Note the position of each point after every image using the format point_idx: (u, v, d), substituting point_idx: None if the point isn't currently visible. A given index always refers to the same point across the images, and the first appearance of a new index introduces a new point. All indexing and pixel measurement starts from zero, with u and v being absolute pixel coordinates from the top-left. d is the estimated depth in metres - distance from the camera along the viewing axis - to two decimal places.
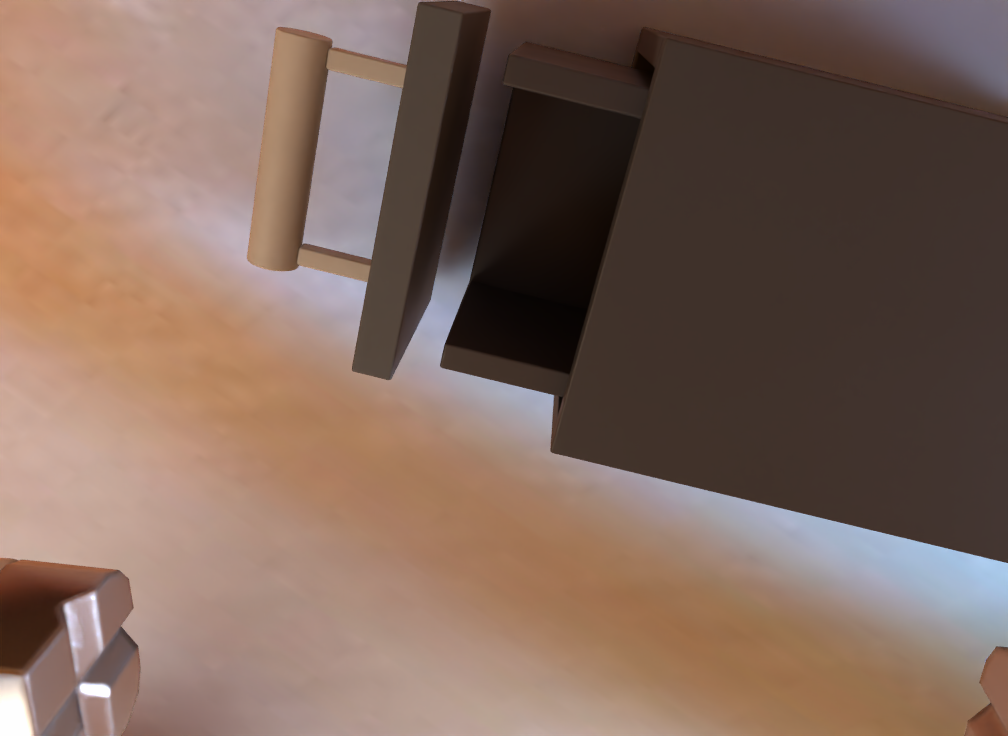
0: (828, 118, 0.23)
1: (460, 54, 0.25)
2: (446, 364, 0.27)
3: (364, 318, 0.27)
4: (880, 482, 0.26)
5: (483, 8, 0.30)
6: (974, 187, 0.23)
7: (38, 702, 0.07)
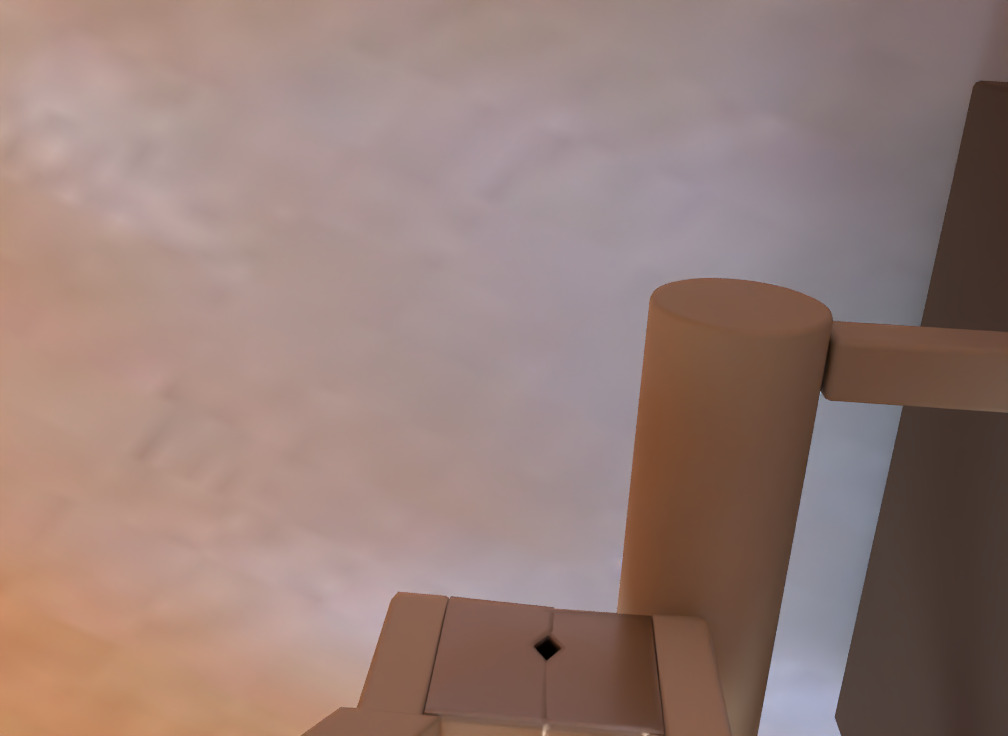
0: None
1: None
2: None
3: None
4: None
5: None
6: None
7: None
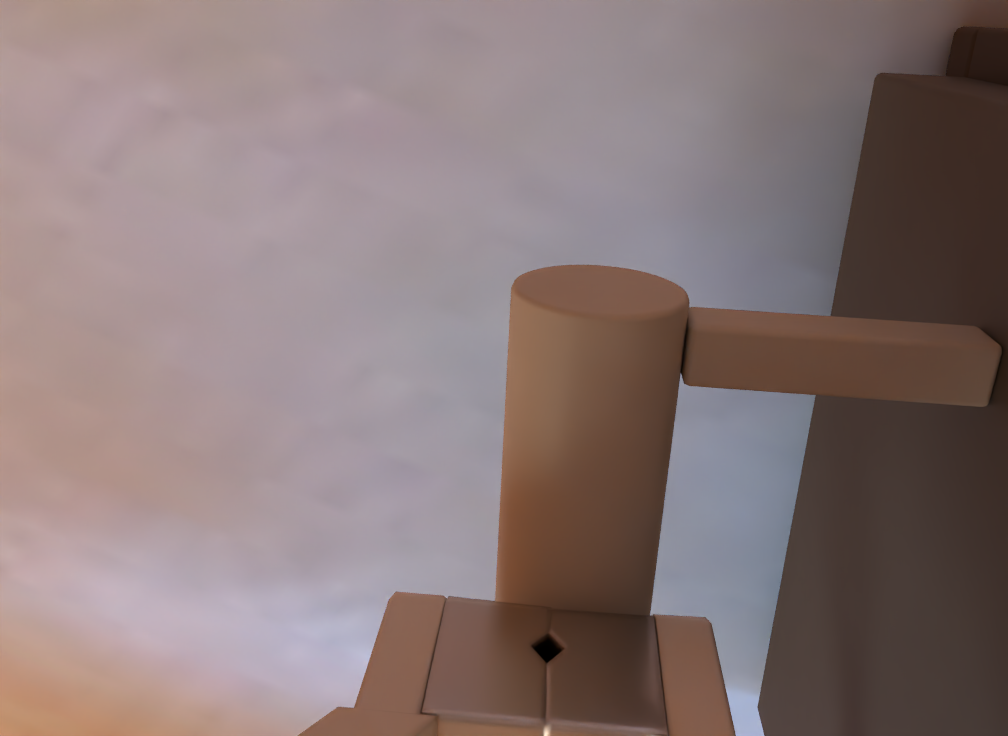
0: None
1: None
2: None
3: None
4: None
5: (995, 84, 0.11)
6: None
7: None
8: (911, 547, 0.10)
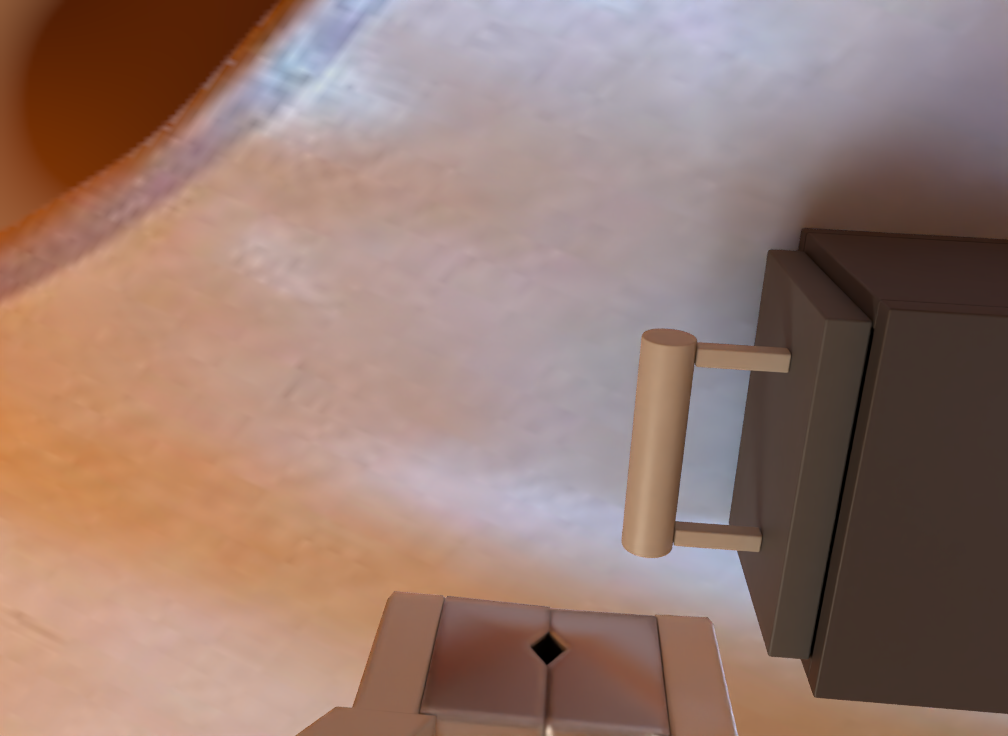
0: None
1: None
2: None
3: (780, 607, 0.27)
4: None
5: (808, 259, 0.30)
6: None
7: None
8: (773, 423, 0.28)
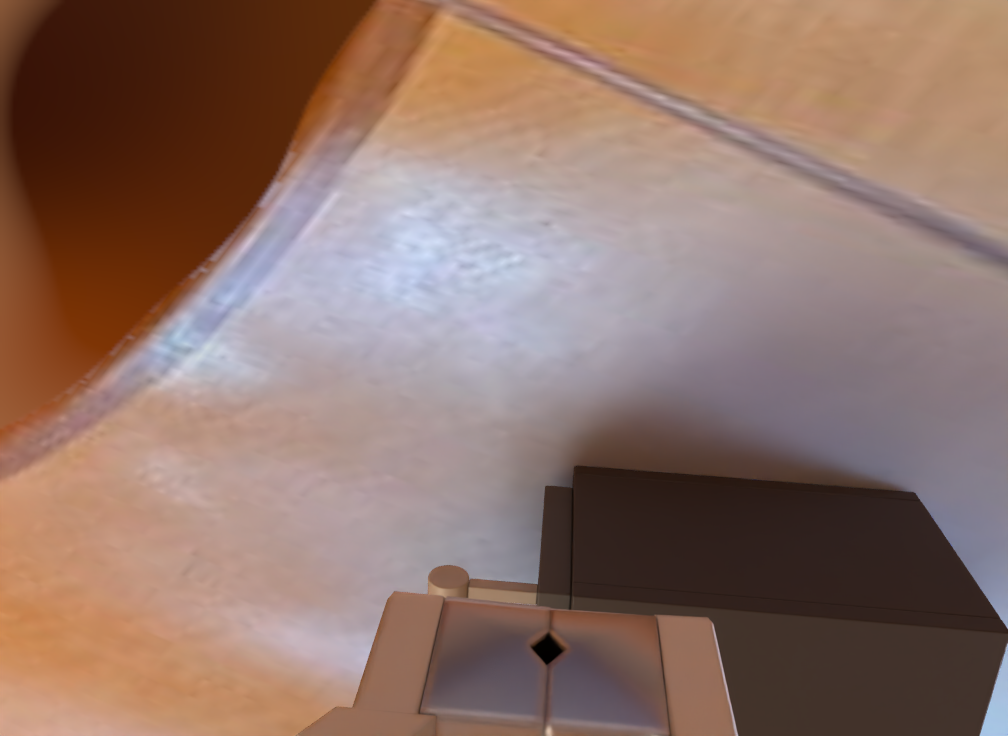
0: None
1: None
2: None
3: None
4: None
5: (569, 500, 0.39)
6: (814, 657, 0.32)
7: None
8: None
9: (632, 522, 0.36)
